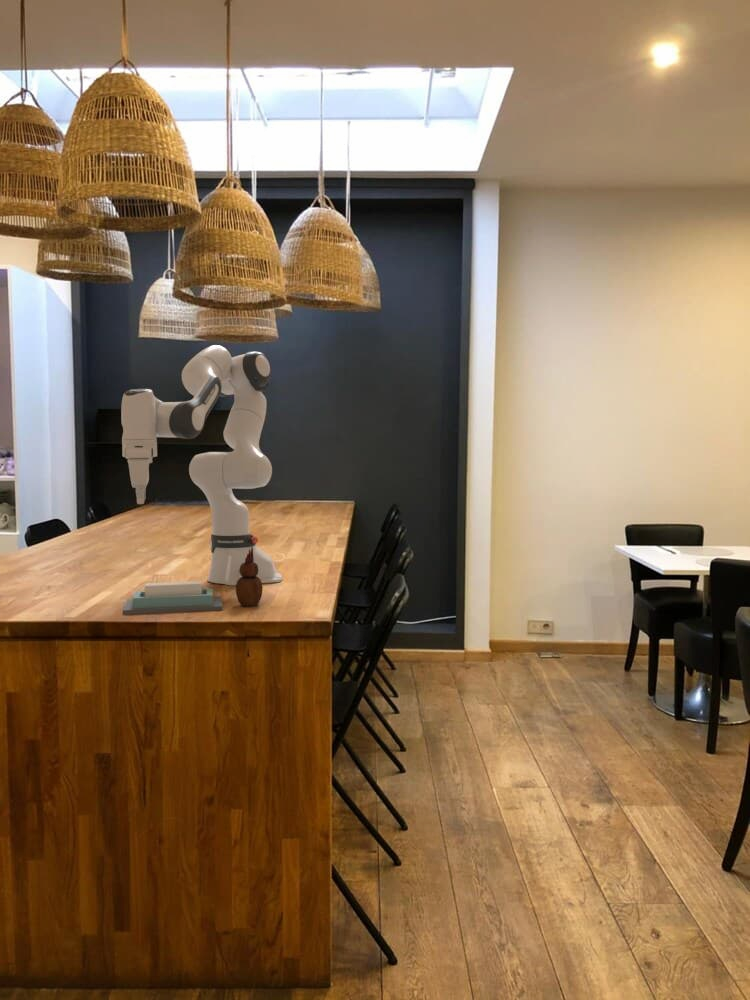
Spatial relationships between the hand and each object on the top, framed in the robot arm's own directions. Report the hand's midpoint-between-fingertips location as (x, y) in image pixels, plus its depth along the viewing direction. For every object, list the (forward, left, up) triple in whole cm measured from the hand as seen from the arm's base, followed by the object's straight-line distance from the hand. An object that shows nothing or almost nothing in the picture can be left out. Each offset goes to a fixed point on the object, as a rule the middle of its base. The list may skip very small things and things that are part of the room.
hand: (141, 502), depth 203 cm
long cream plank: (-8, +12, -25) cm, 29 cm away
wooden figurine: (-27, +14, -26) cm, 41 cm away
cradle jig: (-8, +12, -26) cm, 30 cm away
